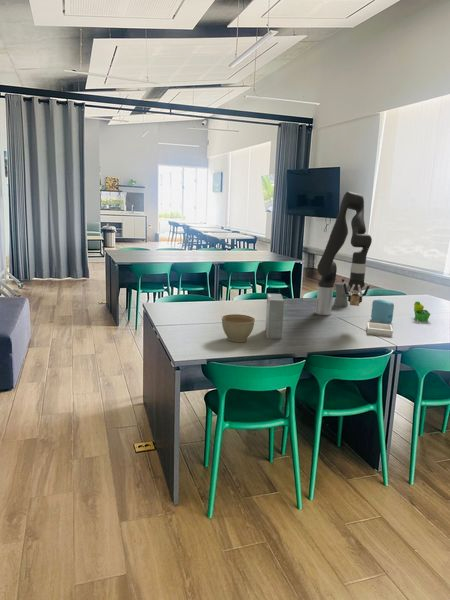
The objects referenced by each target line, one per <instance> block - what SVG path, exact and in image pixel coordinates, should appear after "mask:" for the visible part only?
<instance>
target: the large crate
mask: <svg viewBox="0 0 450 600" xmlns="http://www.w3.org/2000/svg"><path fill="white" fill-rule="evenodd" d="M366 333H367V335H373V336H374V335H375V336H385V337H393V333H394V330H393V325H392V324H390V323H381V322H380V323H378V322H369V321H367V323H366Z"/></svg>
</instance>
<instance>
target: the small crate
mask: <svg viewBox="0 0 450 600" xmlns="http://www.w3.org/2000/svg"><path fill="white" fill-rule="evenodd" d="M359 299H360V293H351V299H350V302H349V306H354V307H355V306H356V307H360V303H359Z"/></svg>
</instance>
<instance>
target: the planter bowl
mask: <svg viewBox="0 0 450 600" xmlns="http://www.w3.org/2000/svg"><path fill="white" fill-rule="evenodd" d="M255 320H256V319H255V317H253V316H250V315H246V314H240V313H239V314H238V313H237V314H235V313H234V314H232V313H231V314H224V315H222V316H221V325H222V329H223V331H224V334H225V336H226V338H227V340H228V341H230V342H233V343H234V342H235V343H243V342H246V341H247V340H248V338H249V336H250V335H251V334H252V332H253V329H254V326H255Z"/></svg>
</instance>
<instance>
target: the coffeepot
mask: <svg viewBox="0 0 450 600" xmlns="http://www.w3.org/2000/svg"><path fill="white" fill-rule="evenodd" d="M344 283H349V281H348V282H346V281H345V279H344V278H342V279H341V281H339V282H335V283H334V287H335V293H336V296H335V298H334V301H333V305H334V306H335V307H338V308H339V307H340V308H346V307H348V306H349V303H348V302H349V301H348V295H347V294H345V290H344ZM350 289H351V287H350V286H349V285H348V287H347V292H350Z"/></svg>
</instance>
